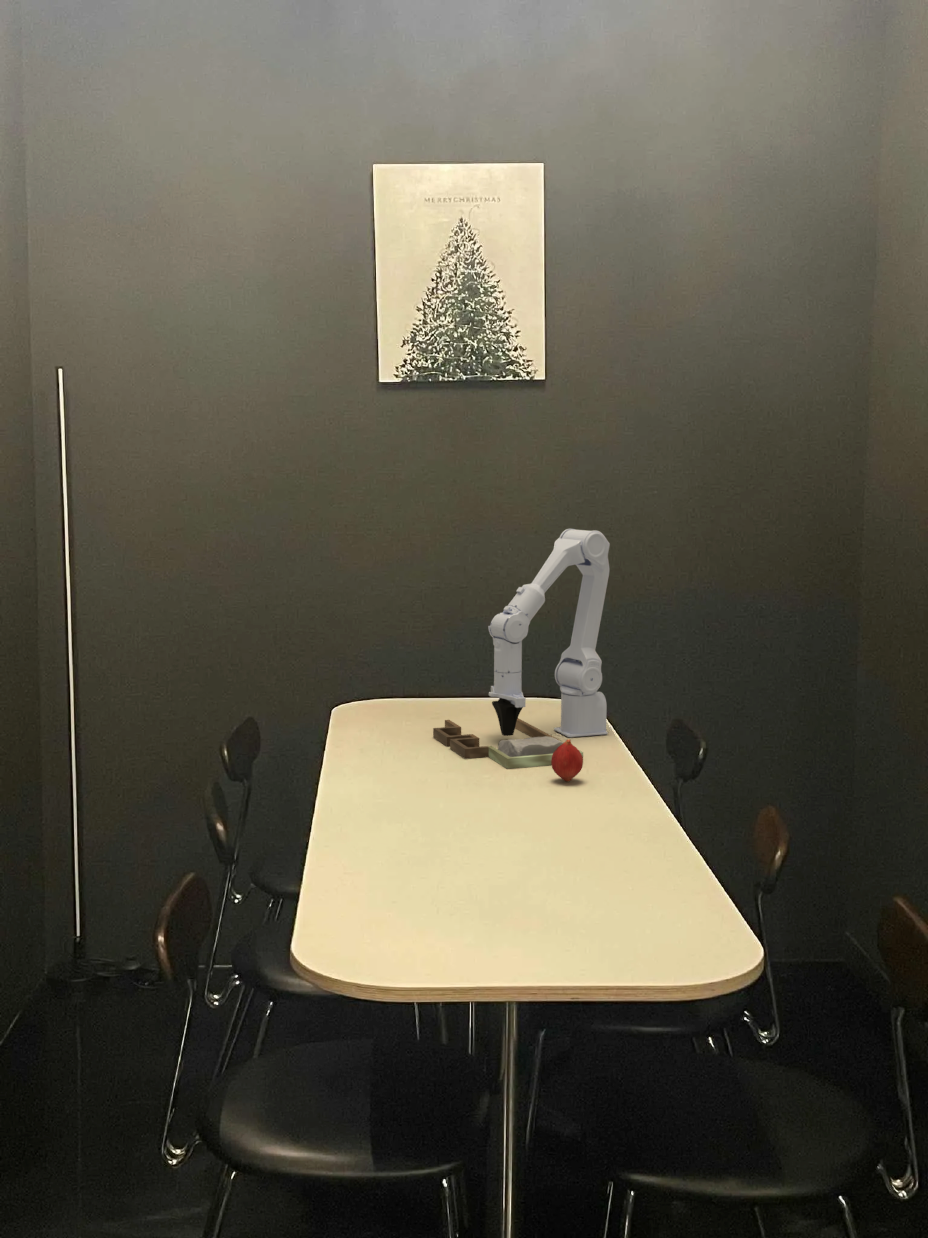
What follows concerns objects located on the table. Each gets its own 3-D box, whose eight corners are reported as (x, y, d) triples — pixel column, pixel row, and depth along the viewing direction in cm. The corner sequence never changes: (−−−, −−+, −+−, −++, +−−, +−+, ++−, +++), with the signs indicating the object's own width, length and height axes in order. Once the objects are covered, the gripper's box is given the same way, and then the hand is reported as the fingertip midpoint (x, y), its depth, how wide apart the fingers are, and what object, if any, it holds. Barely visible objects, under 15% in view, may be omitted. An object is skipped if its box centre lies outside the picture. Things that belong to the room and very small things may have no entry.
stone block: (493, 764, 242) (519, 764, 234) (491, 740, 243) (518, 739, 234) (542, 759, 248) (569, 759, 240) (540, 735, 249) (568, 735, 240)
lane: (512, 724, 270) (512, 715, 270) (583, 762, 236) (583, 752, 236) (423, 730, 263) (423, 721, 263) (482, 771, 229) (482, 760, 229)
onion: (545, 783, 220) (546, 740, 219) (558, 776, 226) (559, 734, 224) (575, 787, 218) (576, 743, 217) (587, 779, 223) (588, 737, 222)
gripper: (477, 666, 255) (477, 729, 257) (502, 677, 242) (502, 744, 244) (508, 664, 258) (508, 726, 260) (535, 675, 244) (534, 741, 246)
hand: (507, 735), depth 252 cm, fingers closed
